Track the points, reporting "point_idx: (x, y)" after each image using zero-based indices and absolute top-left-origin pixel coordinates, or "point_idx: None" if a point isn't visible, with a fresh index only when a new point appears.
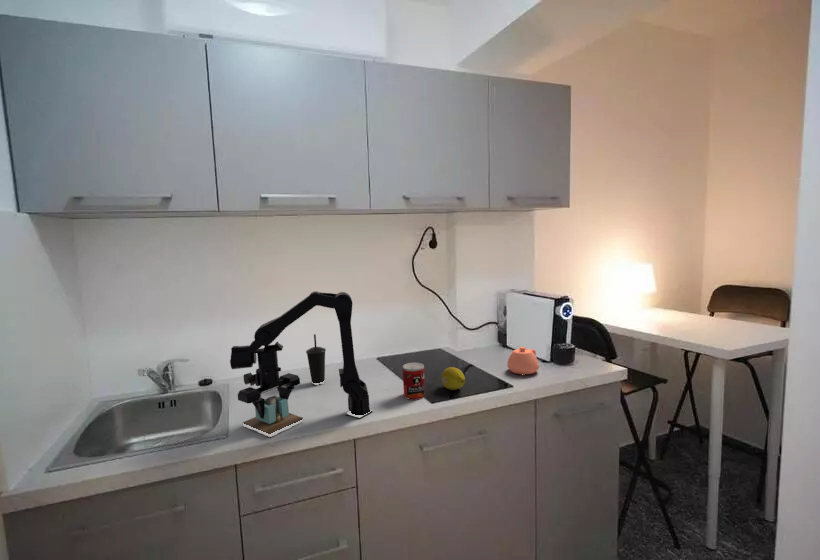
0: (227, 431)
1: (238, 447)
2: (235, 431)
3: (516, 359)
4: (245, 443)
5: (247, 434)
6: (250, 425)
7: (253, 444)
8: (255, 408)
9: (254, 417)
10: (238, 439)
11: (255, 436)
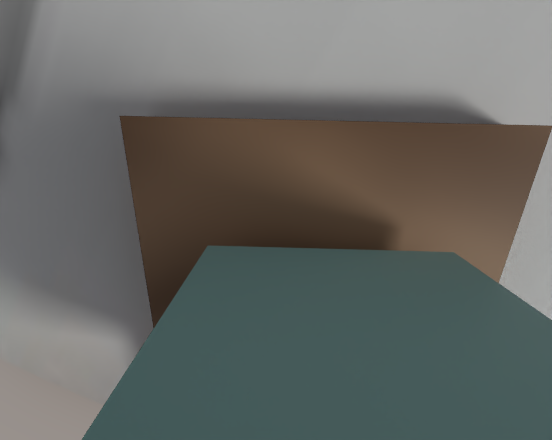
0: (6, 64)
1: (11, 358)
2: (63, 138)
3: None
4: (59, 353)
5: (114, 269)
6: (141, 251)
7: (89, 394)
8: (154, 337)
9: (261, 123)
10: (40, 278)
11: (140, 334)
